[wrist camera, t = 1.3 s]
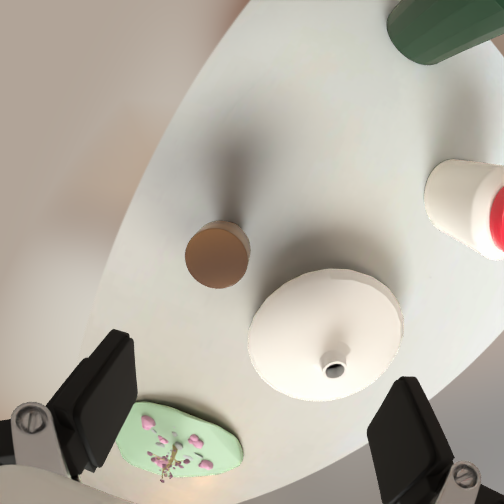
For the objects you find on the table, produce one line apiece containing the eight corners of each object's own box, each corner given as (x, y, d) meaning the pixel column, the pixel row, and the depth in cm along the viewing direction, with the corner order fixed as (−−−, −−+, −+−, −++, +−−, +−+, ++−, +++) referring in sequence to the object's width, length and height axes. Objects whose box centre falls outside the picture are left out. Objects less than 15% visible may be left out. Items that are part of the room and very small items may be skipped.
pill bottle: (458, 144, 24) (531, 148, 13) (490, 203, 25) (558, 228, 15) (410, 191, 26) (475, 214, 15) (446, 248, 27) (508, 292, 17)
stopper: (199, 216, 28) (176, 236, 22) (247, 204, 28) (238, 221, 21) (213, 262, 30) (195, 293, 23) (259, 252, 29) (254, 282, 22)
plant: (196, 490, 45) (188, 526, 36) (99, 444, 43) (81, 478, 34) (269, 439, 37) (266, 490, 29) (135, 374, 35) (108, 422, 27)
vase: (322, 224, 28) (337, 246, 21) (420, 316, 30) (446, 352, 23) (219, 334, 32) (207, 377, 25) (322, 401, 34) (328, 443, 28)
